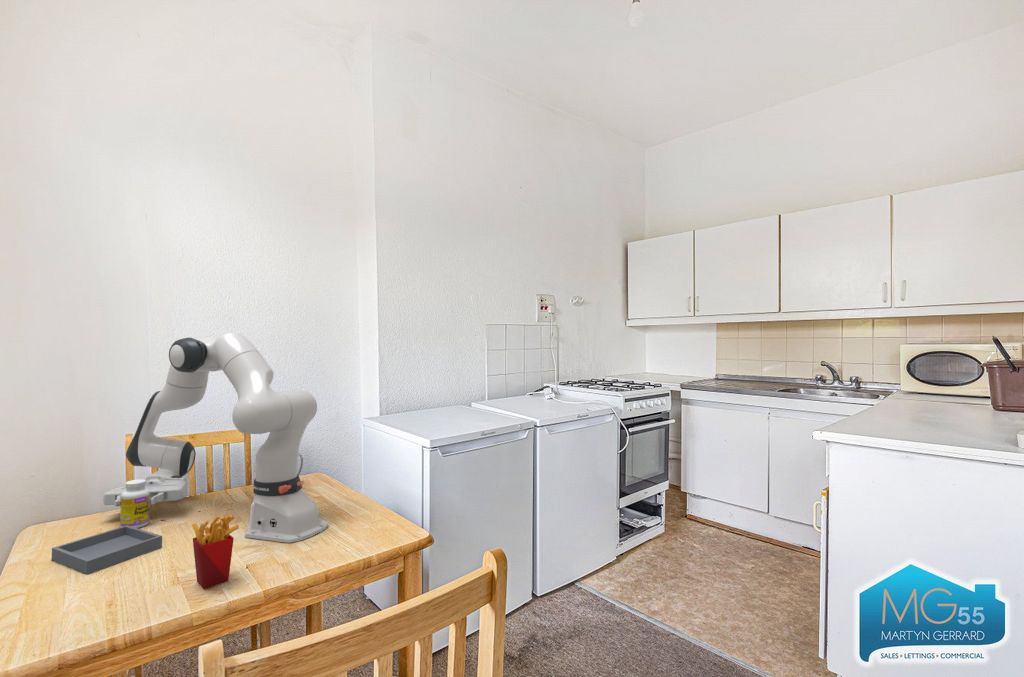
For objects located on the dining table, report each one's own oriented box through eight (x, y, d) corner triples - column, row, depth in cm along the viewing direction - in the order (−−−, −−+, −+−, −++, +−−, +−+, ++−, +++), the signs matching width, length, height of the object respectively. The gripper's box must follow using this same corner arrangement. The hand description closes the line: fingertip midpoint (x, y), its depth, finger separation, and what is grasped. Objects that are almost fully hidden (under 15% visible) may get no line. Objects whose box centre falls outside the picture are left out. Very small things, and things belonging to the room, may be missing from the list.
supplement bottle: (133, 531, 134) (133, 485, 134) (114, 529, 136) (114, 484, 136) (155, 522, 141) (155, 479, 141) (136, 520, 142) (137, 477, 142)
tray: (162, 547, 125) (162, 535, 125) (86, 574, 110) (86, 561, 110) (127, 536, 131) (127, 525, 131) (51, 560, 117) (51, 547, 117)
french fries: (190, 582, 107) (191, 515, 107) (231, 569, 113) (232, 505, 113) (203, 596, 101) (203, 525, 101) (245, 582, 108) (245, 515, 108)
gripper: (117, 480, 148) (90, 494, 135) (192, 476, 153) (174, 489, 140) (116, 500, 148) (90, 516, 135) (192, 495, 153) (174, 510, 140)
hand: (133, 502), depth 137 cm, fingers closed on supplement bottle, 7 cm apart
